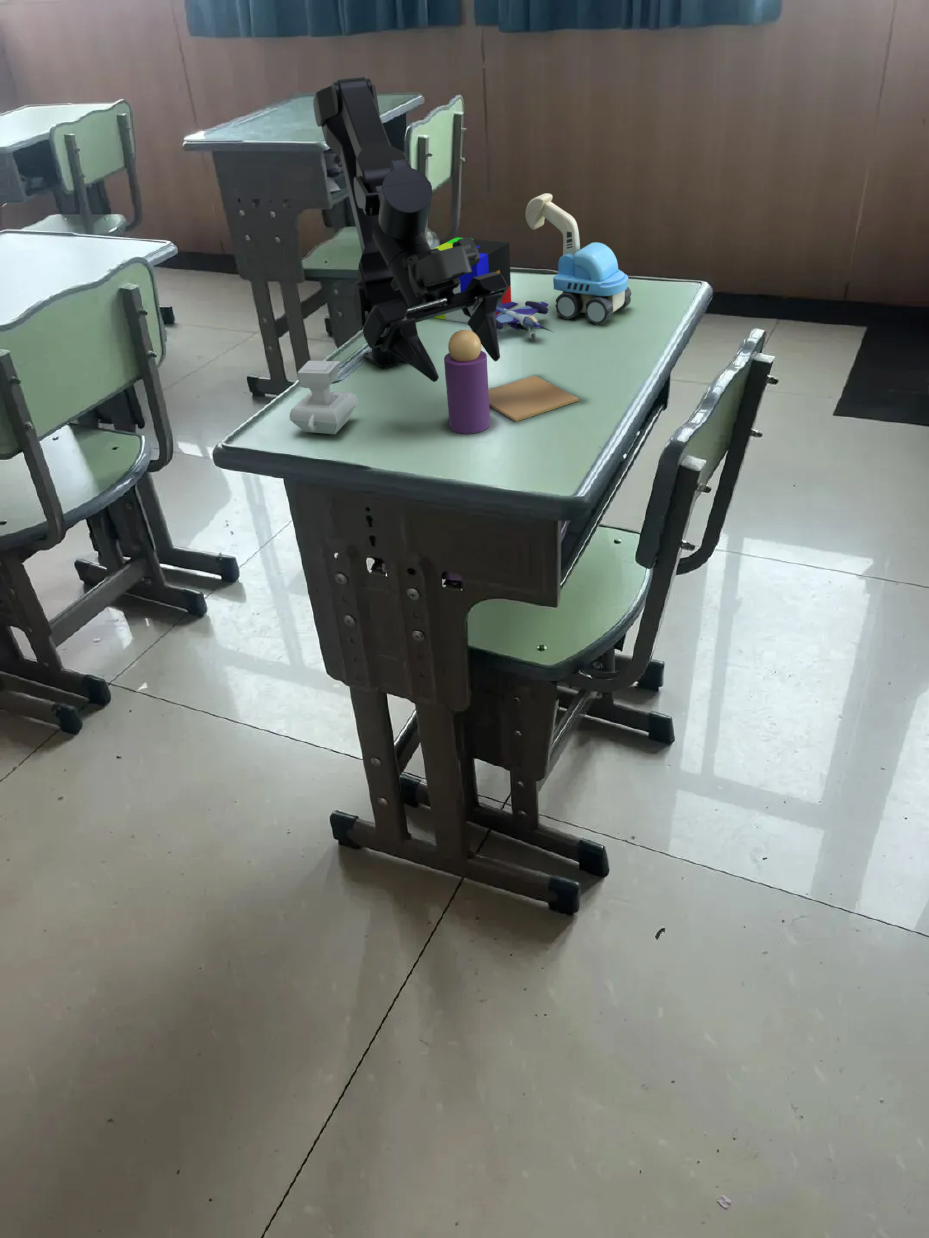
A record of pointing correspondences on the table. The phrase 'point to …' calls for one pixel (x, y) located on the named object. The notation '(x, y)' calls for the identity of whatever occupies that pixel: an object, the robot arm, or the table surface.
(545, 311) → the toy airplane
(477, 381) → the peg doll toy
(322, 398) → the stamp
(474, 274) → the puzzle toy
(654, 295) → the table surface
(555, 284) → the toy excavator
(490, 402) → the cork coaster
